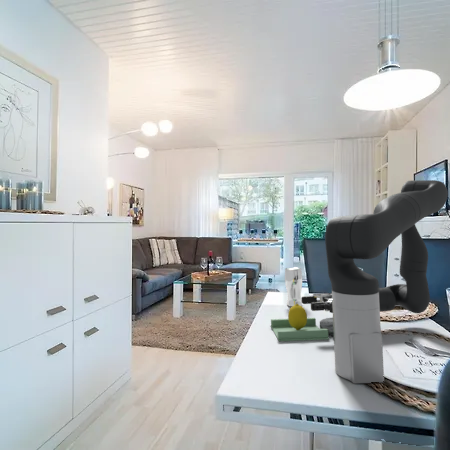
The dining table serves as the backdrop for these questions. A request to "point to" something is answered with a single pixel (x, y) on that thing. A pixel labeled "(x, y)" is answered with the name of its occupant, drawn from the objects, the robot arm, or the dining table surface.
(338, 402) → the dining table surface
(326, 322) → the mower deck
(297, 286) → the beer glass
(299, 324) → the lemon
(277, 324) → the side chute
